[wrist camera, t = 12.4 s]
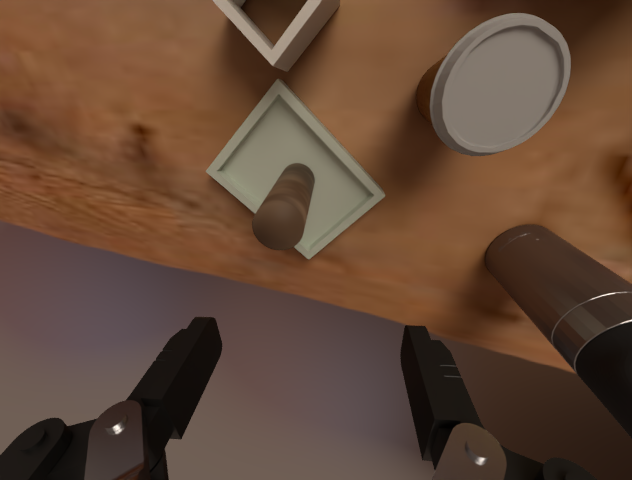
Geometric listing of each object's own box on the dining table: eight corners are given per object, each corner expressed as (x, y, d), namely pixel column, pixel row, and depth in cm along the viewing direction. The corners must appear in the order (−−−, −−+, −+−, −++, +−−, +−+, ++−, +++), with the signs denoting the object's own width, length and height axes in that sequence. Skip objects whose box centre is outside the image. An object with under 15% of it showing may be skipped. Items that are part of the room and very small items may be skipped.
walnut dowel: (321, 180, 35) (314, 228, 23) (298, 202, 36) (280, 258, 24) (296, 155, 33) (275, 192, 21) (274, 179, 35) (241, 226, 23)
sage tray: (382, 189, 36) (385, 195, 34) (310, 250, 41) (308, 259, 39) (281, 79, 30) (277, 78, 28) (213, 166, 36) (205, 171, 34)
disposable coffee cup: (392, 132, 32) (419, 151, 22) (415, 33, 28) (463, -1, 17) (470, 142, 32) (535, 166, 22) (507, 45, 28) (611, 17, 17)
